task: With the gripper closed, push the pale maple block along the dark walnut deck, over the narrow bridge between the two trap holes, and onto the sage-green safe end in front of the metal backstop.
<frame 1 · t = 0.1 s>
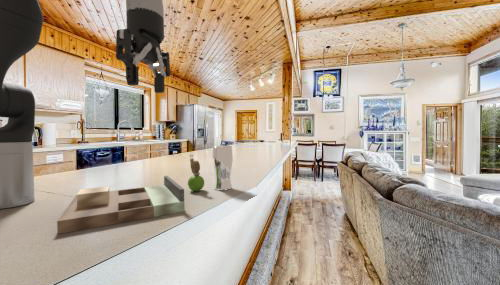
hand: (147, 89, 49), 29 cm above the counter, fingers open, 8 cm apart
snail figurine: (195, 191, 75), on the counter
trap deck: (127, 207, 58), on the counter
beer glass: (223, 188, 78), on the counter
block: (94, 202, 54), point 2 cm above the counter, touching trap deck
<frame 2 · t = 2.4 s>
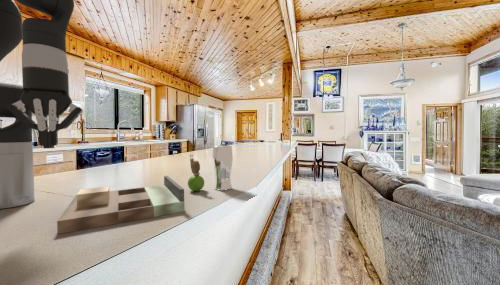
hand: (49, 148, 49), 16 cm above the counter, fingers closed
nothing on the counter moved.
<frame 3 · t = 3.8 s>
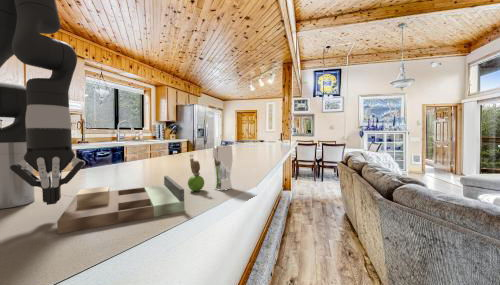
hand: (52, 203, 50), 4 cm above the counter, fingers closed
nothing on the counter moved.
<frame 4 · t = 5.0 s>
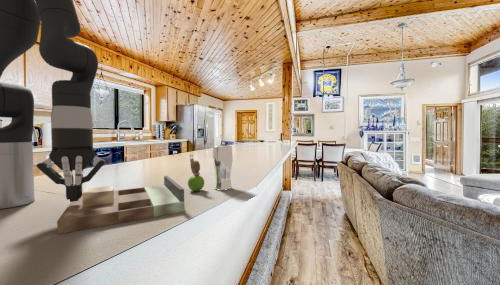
hand: (74, 200, 52), 4 cm above the counter, fingers closed
block: (99, 201, 54), point 2 cm above the counter, touching gripper, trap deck
everything else where it was.
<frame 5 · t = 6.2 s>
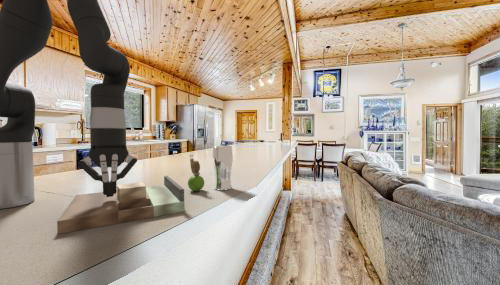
hand: (110, 196, 55), 4 cm above the counter, fingers closed
block: (131, 196, 59), point 3 cm above the counter, touching gripper, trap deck
everything else where it was.
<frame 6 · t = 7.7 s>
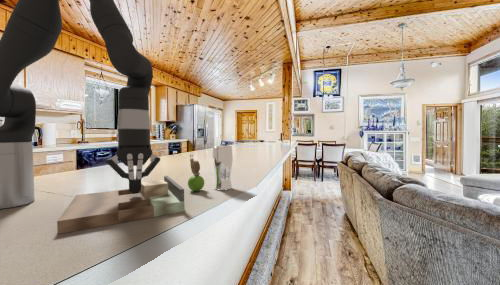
hand: (135, 192, 58), 4 cm above the counter, fingers closed
block: (154, 193, 62), point 2 cm above the counter, touching gripper, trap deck
everything else where it was.
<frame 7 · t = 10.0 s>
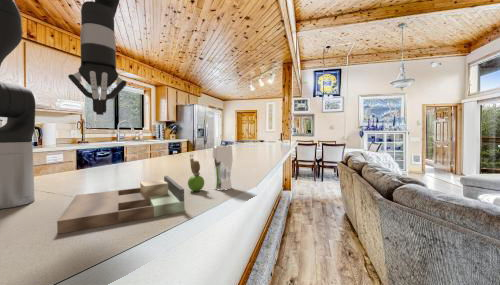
hand: (100, 114, 58), 24 cm above the counter, fingers closed
block: (154, 193, 62), point 2 cm above the counter, touching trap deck
everything else where it was.
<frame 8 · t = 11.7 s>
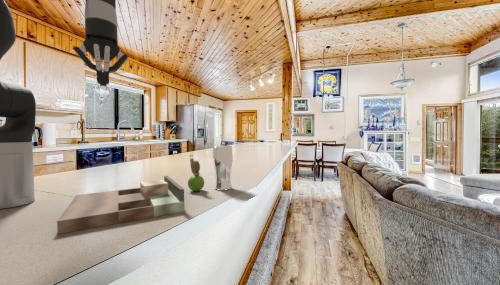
hand: (103, 85, 62), 33 cm above the counter, fingers closed
nothing on the counter moved.
at the end: block 1.9 cm from the target spot on the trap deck, point 2.5 cm above the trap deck's base; block touching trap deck; block tilted 0° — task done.
